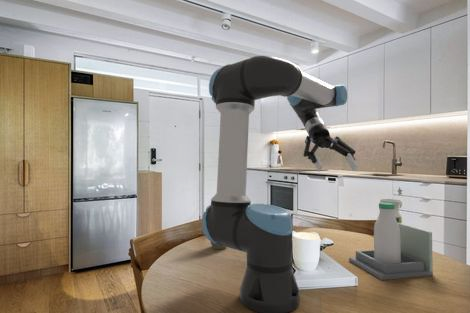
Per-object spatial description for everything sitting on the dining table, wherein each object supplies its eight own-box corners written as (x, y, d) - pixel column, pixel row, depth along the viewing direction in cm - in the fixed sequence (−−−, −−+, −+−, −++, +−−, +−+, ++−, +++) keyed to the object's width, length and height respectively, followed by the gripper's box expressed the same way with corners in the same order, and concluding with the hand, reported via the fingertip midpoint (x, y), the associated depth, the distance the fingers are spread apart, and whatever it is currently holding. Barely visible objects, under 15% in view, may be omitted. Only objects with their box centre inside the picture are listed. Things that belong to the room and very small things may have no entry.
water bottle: (405, 247, 112) (404, 186, 112) (401, 252, 105) (400, 187, 106) (382, 243, 117) (382, 185, 118) (378, 248, 110) (377, 186, 111)
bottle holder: (381, 280, 81) (380, 235, 81) (349, 260, 96) (348, 223, 97) (432, 275, 84) (432, 232, 84) (393, 257, 100) (392, 221, 100)
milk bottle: (404, 269, 86) (404, 205, 86) (378, 267, 87) (377, 204, 88) (395, 260, 93) (394, 202, 94) (371, 258, 95) (370, 201, 95)
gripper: (341, 138, 116) (364, 175, 101) (285, 137, 111) (302, 176, 96) (348, 124, 111) (374, 160, 96) (290, 122, 106) (308, 161, 91)
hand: (338, 168), depth 96 cm, fingers open, 13 cm apart
